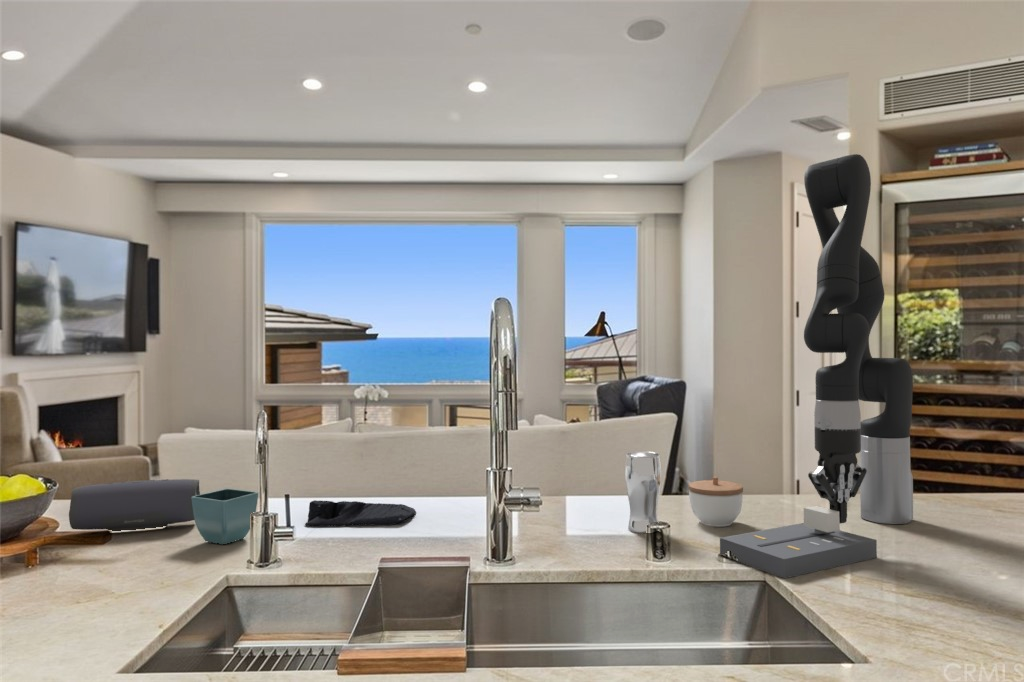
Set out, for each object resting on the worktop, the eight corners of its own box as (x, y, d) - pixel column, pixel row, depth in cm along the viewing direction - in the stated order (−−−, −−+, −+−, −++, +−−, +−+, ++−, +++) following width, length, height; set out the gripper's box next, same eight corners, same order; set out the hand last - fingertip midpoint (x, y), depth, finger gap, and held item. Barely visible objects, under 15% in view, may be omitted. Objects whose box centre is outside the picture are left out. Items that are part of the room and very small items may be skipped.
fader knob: (815, 528, 128) (815, 505, 128) (839, 534, 124) (839, 511, 124) (803, 530, 127) (803, 507, 127) (827, 537, 122) (827, 513, 122)
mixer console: (808, 538, 134) (808, 521, 134) (876, 557, 121) (876, 539, 121) (720, 555, 124) (719, 537, 124) (784, 578, 111) (784, 558, 111)
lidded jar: (685, 527, 143) (684, 480, 143) (692, 515, 153) (692, 471, 153) (741, 531, 139) (740, 483, 139) (745, 519, 149) (744, 474, 149)
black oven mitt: (402, 531, 144) (402, 507, 144) (298, 529, 147) (297, 505, 147) (420, 513, 159) (420, 491, 159) (326, 511, 162) (325, 490, 162)
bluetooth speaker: (201, 519, 154) (200, 473, 154) (196, 530, 145) (195, 481, 145) (81, 529, 147) (80, 480, 147) (68, 541, 138) (67, 489, 138)
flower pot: (260, 537, 139) (259, 491, 139) (224, 549, 131) (224, 500, 131) (226, 532, 143) (226, 488, 143) (190, 544, 135) (189, 496, 135)
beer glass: (661, 535, 137) (660, 457, 137) (625, 533, 138) (624, 456, 138) (661, 525, 144) (660, 451, 144) (626, 524, 145) (625, 450, 145)
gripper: (843, 421, 134) (844, 513, 134) (794, 425, 128) (795, 522, 128) (880, 425, 127) (881, 522, 127) (830, 429, 121) (831, 532, 121)
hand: (838, 522), depth 127 cm, fingers closed
